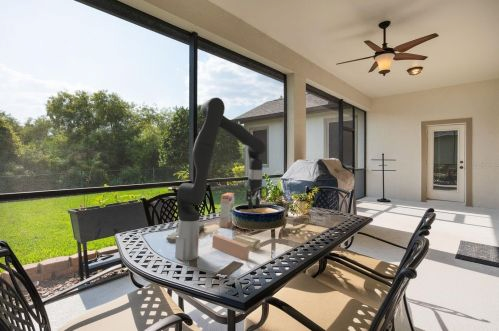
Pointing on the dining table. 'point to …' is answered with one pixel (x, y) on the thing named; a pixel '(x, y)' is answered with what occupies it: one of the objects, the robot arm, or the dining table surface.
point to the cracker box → (226, 209)
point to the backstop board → (231, 247)
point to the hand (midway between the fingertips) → (253, 207)
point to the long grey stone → (172, 237)
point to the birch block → (249, 242)
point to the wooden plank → (229, 268)
